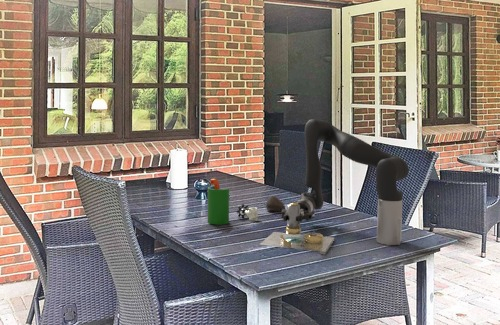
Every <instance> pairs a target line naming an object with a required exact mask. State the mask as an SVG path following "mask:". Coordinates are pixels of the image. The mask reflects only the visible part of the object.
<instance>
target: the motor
mask: <svg viewBox="0 0 500 325" xmlns="http://www.w3.org/2000/svg"><path fill="white" fill-rule="evenodd" d="M210 185H212V186H208V187H207V223H208V224H210V225H216V226H218V225H227V224H230V188H224V189H221V188H220V183H219V180H218V179H217V178H211V179H210Z"/></svg>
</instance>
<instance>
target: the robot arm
mask: <svg viewBox="0 0 500 325" xmlns="http://www.w3.org/2000/svg"><path fill="white" fill-rule="evenodd" d="M304 141H305V142H304V145H305V146H304V148H305V157H306V158H305V159H306V160H305V163H306V164H305V166H306V167H305V179H304V185H305V186H306V187H307V188H309V189H313V190H314V192H315V193H313V192H302V193H301V194H300V197H299V199H298V200H297V201H296V202H295V203H298V204H299V205H300V215H299V216H298V222H300V223H301V222H304V221H306V222H308V221H310V220H311V221H312V220H313V219H315V214H316V212H315V211H314V210H321V209H322V207H323V206H324V198H323V193H322V174H323V173H322V172H323V168H322V167H323V166H322V164H321V163H322V162H321V161H320V157H319V154H318V142H325V143H327V144H330V145H332V146H334V147H335V148H336V149H337V151H338V152H339V153H340V154H341V155H342V156H343V157H344V158H346V159H349V160H351V161H353V162H355V163H358V164H361V165H365V166H370V167H373V168H375V183H376V184H375V185H376V186H375V188H376V189H375V190H376V192H377V212H376V213H377V216H376V218H377V220H376V242H377V243H378V244H380V245H381V244H382V245H387V246H396V245H398V246H401V243H402V228H403V196H404V195H403V192H402V191H401V190H399V189H398V186H397V182H398V181H402V180H404V179H405V178H406V177H408V175H409V174H410V173H409V166H408V164H407V162H406V161H405V160H404V159H402V157H398V156H396V155H393V154H390V153H388V152H385V151H382V150H380V149H379V148H377V147H375V146H374V145H371V144H369V143H368V142H366V141H364V140H363V139H360V138H358V137H356V136H354V135H351V134H349V133H347V132H345V131H342V130H340V129H339V128H337V127H336V126H335V125H333V124H332V123H330V122H328V121H326V120H324V119H323V120H322V119H317V118H312V119H309V120H308V121H307V122H306V124H305V126H304ZM287 211H288V210H286V208H285V209H282V211H281V219H282V221H283V220H284V222H287Z"/></svg>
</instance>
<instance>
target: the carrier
mask: <svg viewBox="0 0 500 325" xmlns="http://www.w3.org/2000/svg"><path fill="white" fill-rule="evenodd" d="M333 241H335V237H331V236H324V235H323V234H322V233H320V232H315V231H314V232H307V233H304V234H301V233H300V234H296V235H292V234H287V233H286V232H278V231H273V232H272V233H271V234H270V235H268V237H266V238H264V239H263V241H262V242H260V243H259V246H267V247H268V246H269V247H276V248H277V247H278V248H285V249H286V248H288V249H296V250H305V251H307V250H308V251H315V252H316V251H318V252H317V255H326V253H327V252H328V250H329V249H330V247H331V246H332V245H333V243H334V242H333Z"/></svg>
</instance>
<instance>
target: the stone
mask: <svg viewBox="0 0 500 325" xmlns="http://www.w3.org/2000/svg"><path fill="white" fill-rule="evenodd" d="M265 207H266V208H265V209H266V211H268V212H279V211H281V212H282V209H285V210H286V205H285V204H284V202H283V201H282V200H280V199H279V198H278V197H277V196H274V195H272V196H269V197H268V199H267V201H266V205H265Z"/></svg>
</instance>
